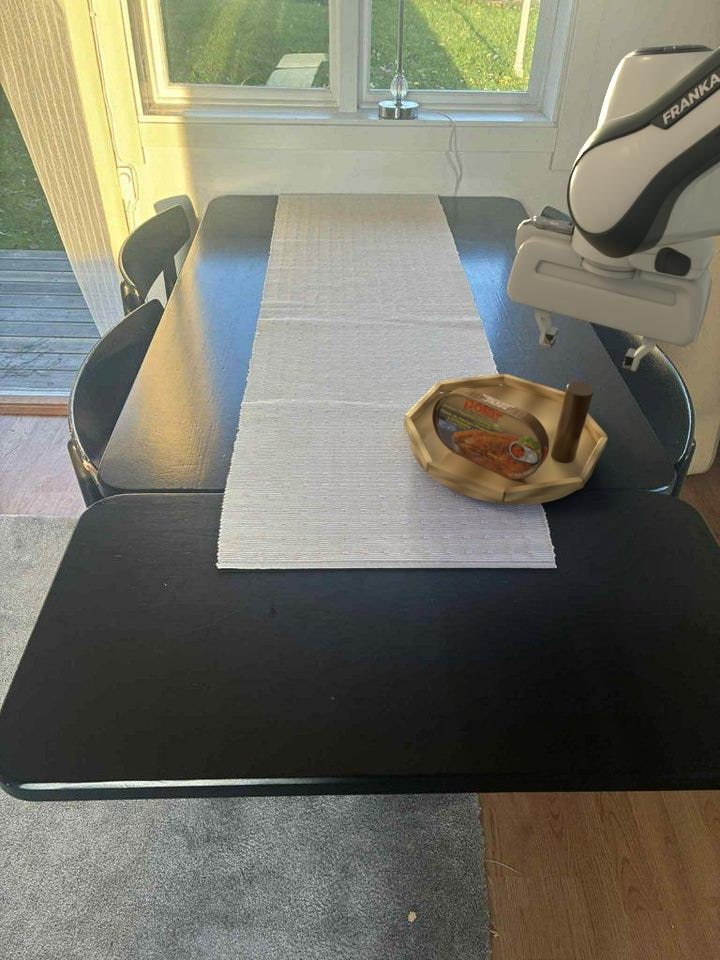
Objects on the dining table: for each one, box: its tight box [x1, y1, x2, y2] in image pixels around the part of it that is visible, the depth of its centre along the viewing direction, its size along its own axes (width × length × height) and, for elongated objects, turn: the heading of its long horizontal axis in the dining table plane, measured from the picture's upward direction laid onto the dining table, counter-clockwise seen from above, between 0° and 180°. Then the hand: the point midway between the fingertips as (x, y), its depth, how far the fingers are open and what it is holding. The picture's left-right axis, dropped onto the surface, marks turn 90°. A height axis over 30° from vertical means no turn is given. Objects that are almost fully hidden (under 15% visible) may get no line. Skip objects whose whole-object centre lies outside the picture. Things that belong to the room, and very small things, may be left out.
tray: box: [403, 373, 609, 506], centre depth 88 cm, size 24×24×11 cm
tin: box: [432, 388, 549, 479], centre depth 84 cm, size 15×3×8 cm, turn 50°
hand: (587, 355), depth 78 cm, fingers open, 8 cm apart
